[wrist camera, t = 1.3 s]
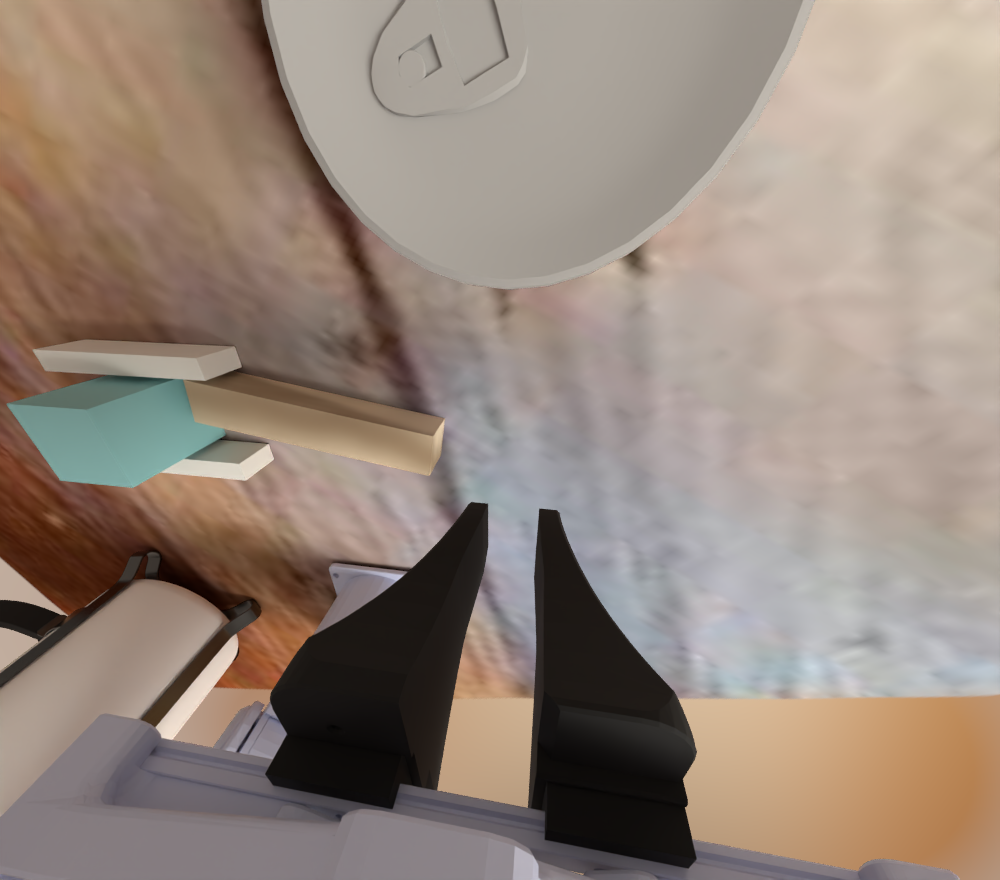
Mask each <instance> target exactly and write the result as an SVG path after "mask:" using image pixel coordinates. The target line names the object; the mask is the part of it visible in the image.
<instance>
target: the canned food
mask: <svg viewBox="0 0 1000 880" xmlns="http://www.w3.org/2000/svg"><path fill="white" fill-rule="evenodd" d="M261 1H262V9H263V16H264V21H265V25H266V28H267V32H268V36H269V40H270V43H271V47H272V51H273V55H274V58H275V62H276V66H277V70H278V74H279V77H280V81H281V84H282V87H283V89H284V92H285V94H286V97H287V99H288V101H289V104H290V106H291V109H292V111H293V114H294V116H295V118H296V121H297V123H298V126H299V128H300V131H301V133H302V135H303V138H304V140H305V142H306V143H307V145H308V147H309V148H310V150H311V152H312V154H313V155H314V157H315V159H316V160H317V162H318V164H319V165H320V167H321V169H322V170H323V172H324V174H325V176H326V177H327V179H328V181H329V182H330V184H331V186H332V187H333V188H334V189H335V191H336V192H337V193H338V194H339V195H340V197H341V198H342V199H343V200H344V201H345V203H346V204H347V205H348V206H349V208H350V209H351V210H352V211H353V212H354V214H355V215H356V216H357V217H358V219H359V220H360V221H361V222H362V223H363V224H364V225H365V226H366V227H368V228H369V229H370V230H371V231H372V232H373V233H375V234H376V235H377V236H378V237H379V238H380V239H381V240H383V241H384V242H385V243H386V244H387V245H388V246H390V247H391V248H392V249H393V250H394V251H395V252H397V253H399V254H401V255H402V256H404V257H406V258H408V259H409V260H411V261H413V262H414V263H416V264H418V265H420V266H421V267H423V268H425V269H427V270H428V271H430V272H432V273H435V274H438V275H441V276H444V277H447V278H450V279H453V280H456V281H459V282H462V283H465V284H468V285H474V286H482V287H491V288H499V289H508V290H514V289H525V288H536V287H547V286H552V285H555V284H558V283H562V282H565V281H568V280H572V279H575V278H579V277H582V276H585V275H588V274H590V273H592V272H594V271H596V270H598V269H600V268H602V267H604V266H606V265H608V264H610V263H612V262H614V261H616V260H618V259H620V258H622V257H624V256H626V255H628V254H629V253H630V252H632V251H633V250H635V249H636V248H637V247H639V246H640V245H641V244H643V243H644V242H645V241H647V240H648V239H649V238H651V237H652V236H653V235H655V234H656V233H657V232H659V231H660V230H661V229H663V228H664V227H665V226H667V225H668V224H669V223H671V222H672V221H673V220H675V219H676V218H677V217H678V216H679V215H680V214H681V213H682V212H683V211H684V210H685V209H686V208H687V207H688V206H689V204H690V203H691V202H692V201H693V200H694V199H695V198H696V197H697V196H698V195H699V194H700V193H701V192H702V191H703V190H704V189H705V188H706V187H707V186H708V185H709V184H710V183H711V182H712V181H713V180H714V179H715V178H716V177H717V176H718V174H719V173H720V172H721V170H722V169H723V168H724V166H725V165H726V163H727V162H728V161H729V159H730V158H731V157H732V155H733V154H734V153H735V151H736V150H737V148H738V147H739V146H740V144H741V143H742V142H743V140H744V139H745V138H746V136H747V135H748V133H749V132H750V131H751V129H752V128H753V127H754V125H755V124H756V123H757V121H758V119H759V118H760V116H761V114H762V112H763V110H764V108H765V107H766V105H767V103H768V101H769V99H770V97H771V96H772V94H773V92H774V90H775V88H776V86H777V85H778V83H779V81H780V79H781V77H782V75H783V74H784V72H785V70H786V68H787V66H788V64H789V63H790V61H791V59H792V57H793V55H794V53H795V51H796V49H797V46H798V43H799V41H800V38H801V36H802V33H803V31H804V28H805V25H806V23H807V20H808V18H809V15H810V12H811V10H812V7H813V5H814V2H815V0H261Z"/></svg>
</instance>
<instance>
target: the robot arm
mask: <svg viewBox="0 0 1000 880" xmlns="http://www.w3.org/2000/svg"><path fill="white" fill-rule="evenodd" d="M487 550H488V504H485V503H475V502H471V503H470V504H468V506H467V507H466V509H465V510H464V512H463V513H462V514H461V516H460V517H459V518H458V519H457V521H456V522H455V523H454V524H453V526H452V527H451V528H450V529H449V530H448V532H447V533H446V534H445V535H444V536H443V537H442V539H441V540H440V541H439V542H438V543H437V544H436V545H435V546H434V547H433V548H432V549H431V550H430V551H429V552H428V553H427V554H426V555H425V556H424V557H423V558H422V559H421V560H420V561H419V562H418V563H417V564H416V565H415V566H414V567H413V568H412V569H411V570H409V571H408V572H406V571H398V570H390V569H381V568H373V567H365V566H357V565H348V564H340V563H333V564H331V566H330V567H329V572H330V575H331V578H332V581H333V584H334V588H335V591H336V594H337V598H336V599H335V601H334V602H333V604H332V606H331V607H330V609H329V610H328V612H327V614H326V615H325V617H324V618H323V620H322V622H321V623H320V625H319V626H318V628H317V630H316V631H315V633H314V634H313V636H311V637H309V638H308V639H307V640H306V642H305V643H304V644H303V646H302V647H301V648H300V649H299V651H298V652H297V653H296V655H295V656H294V658H293V659H292V661H291V662H290V664H289V665H288V667H287V668H286V670H285V671H284V673H283V675H282V676H281V678H280V679H279V681H278V682H277V684H276V686H275V687H274V689H273V690H272V692H271V696H270V702H269V704H268V705H267V707H266V708H265V709H264V711H263V712H262V711H261V710H262V709H263V707H264V704H262V703H261V702H259V701H255V702H254V703H253V704H252V705H251V706H247V707H245V708H242V709H240V710H239V711H238V713H237V714H236V715H235V717H234V718H233V720H232V721H231V722H230V724H229V725H228V727H227V728H226V730H225V731H224V733H223V734H222V735H221V737H220V738H219V740H218V741H217V742H216V744H215V746H214V747H213V748H212V747H206V746H201V745H196V744H191V743H185V742H180V741H174V740H170V739H165V738H161V734H160V733H159V731H158V730H157V729H156V728H155V727H154V726H152V725H151V724H149V723H147V722H145V721H142V720H139V719H134V718H128V717H123V716H118V715H112V714H107V713H105V714H101V715H99V716H98V717H97V718H96V719H95V721H94V722H93V723H92V724H91V725H90V726H89V727H88V728H87V729H86V730H85V731H84V732H83V733H82V734H81V735H80V736H79V737H78V738H77V739H76V740H75V741H74V742H73V743H72V744H71V745H70V746H69V747H68V748H67V749H66V750H65V751H64V752H63V753H62V754H61V755H60V756H59V757H58V758H57V759H56V761H55V762H54V763H53V764H52V765H51V766H50V767H49V768H48V769H47V770H46V771H45V772H44V773H43V774H42V775H41V776H40V777H39V778H38V779H37V780H36V781H35V782H34V783H33V784H32V785H31V786H30V787H29V788H28V789H27V790H26V791H25V792H24V793H23V794H22V795H21V796H20V797H19V798H18V799H17V800H16V802H15V803H14V804H13V805H12V806H11V807H10V808H9V809H8V810H7V811H6V812H5V813H4V814H3V815H2V816H1V817H0V880H960V879H959V877H958V876H957V875H956V874H954V873H953V872H951V871H950V870H946V869H940V868H935V867H930V866H924V865H919V864H914V863H908V862H902V861H897V860H890V859H875V860H871V861H868V862H866V863H864V864H863V865H862V866H861V867H860V868H859V871H855V870H849V869H845V868H840V867H833V866H829V865H824V864H819V863H813V862H808V861H803V860H797V859H792V858H787V857H782V856H777V855H772V854H766V853H761V852H756V851H751V850H745V849H740V848H735V847H730V846H724V845H719V844H714V843H709V842H703V841H698V840H693V839H692V836H691V832H690V827H689V824H688V819H687V815H686V810H685V807H686V806H687V805H688V799H687V795H686V791H685V787H684V783H683V778H684V776H685V775H686V773H687V771H688V770H689V768H690V767H691V765H692V763H693V761H694V760H695V757H696V753H697V751H696V748H695V743H694V739H693V735H692V732H691V729H690V727H689V724H688V721H687V719H686V716H685V714H684V712H683V709H682V707H681V705H680V702H679V700H678V698H677V696H676V694H675V692H674V691H673V690H672V689H671V688H670V687H669V686H668V685H667V683H666V682H665V681H664V680H663V679H662V678H661V677H660V676H659V675H658V674H657V673H656V672H655V671H654V670H653V668H652V667H651V666H650V665H649V664H648V663H647V662H646V661H645V659H644V658H643V657H642V656H641V655H640V654H639V652H638V651H637V650H636V649H635V648H634V647H633V645H632V644H631V643H630V642H629V640H628V639H627V638H626V636H625V635H624V634H623V632H622V631H621V630H620V629H619V627H618V626H617V625H616V623H615V622H614V621H613V619H612V618H611V617H610V615H609V614H608V612H607V611H606V609H605V608H604V606H603V605H602V604H601V602H600V600H599V599H598V597H597V596H596V594H595V593H594V591H593V589H592V588H591V586H590V584H589V582H588V581H587V579H586V577H585V575H584V573H583V571H582V570H581V568H580V566H579V564H578V562H577V560H576V557H575V555H574V553H573V551H572V549H571V546H570V544H569V542H568V539H567V537H566V534H565V531H564V528H563V525H562V522H561V518H560V513H559V512H558V511H557V510H548V509H539V521H538V533H537V545H536V559H535V575H534V584H535V614H536V670H535V689H534V709H533V727H532V746H531V764H530V783H529V801H528V808H526V807H520V806H515V805H510V804H505V803H499V802H494V801H489V800H484V799H479V798H473V797H468V796H463V795H458V794H452V793H447V792H442V791H437V787H438V781H439V774H440V769H441V763H442V757H443V751H444V745H445V739H446V734H447V728H448V722H449V717H450V711H451V706H452V700H453V695H454V690H455V684H456V679H457V673H458V668H459V663H460V658H461V653H462V648H463V643H464V639H465V635H466V631H467V627H468V624H469V621H470V617H471V614H472V610H473V607H474V603H475V600H476V597H477V593H478V590H479V586H480V583H481V579H482V576H483V572H484V567H485V562H486V556H487ZM568 870H569V871H568ZM571 871H574V872H578V873H584V875H580V874H577V873H574V872H571Z"/></svg>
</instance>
